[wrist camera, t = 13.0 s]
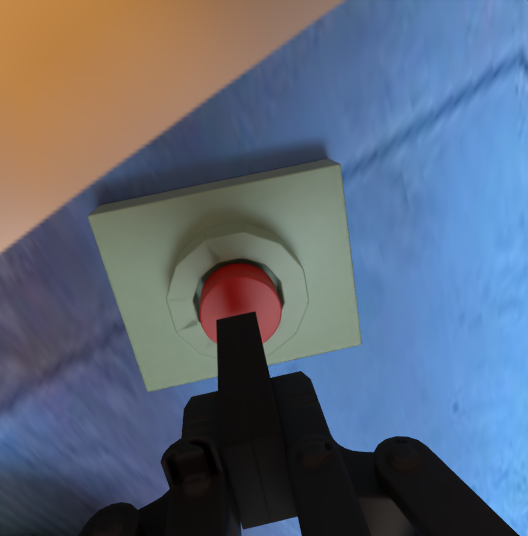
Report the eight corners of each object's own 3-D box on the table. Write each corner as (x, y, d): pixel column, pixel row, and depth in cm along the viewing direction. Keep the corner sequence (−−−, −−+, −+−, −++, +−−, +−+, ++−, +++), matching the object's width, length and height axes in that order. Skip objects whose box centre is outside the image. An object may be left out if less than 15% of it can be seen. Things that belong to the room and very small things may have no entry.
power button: (269, 255, 20) (274, 268, 19) (282, 323, 22) (287, 341, 20) (192, 271, 20) (190, 286, 19) (210, 339, 22) (209, 358, 20)
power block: (329, 158, 23) (352, 168, 19) (350, 326, 26) (373, 363, 23) (97, 205, 22) (75, 226, 19) (152, 370, 26) (142, 415, 22)
